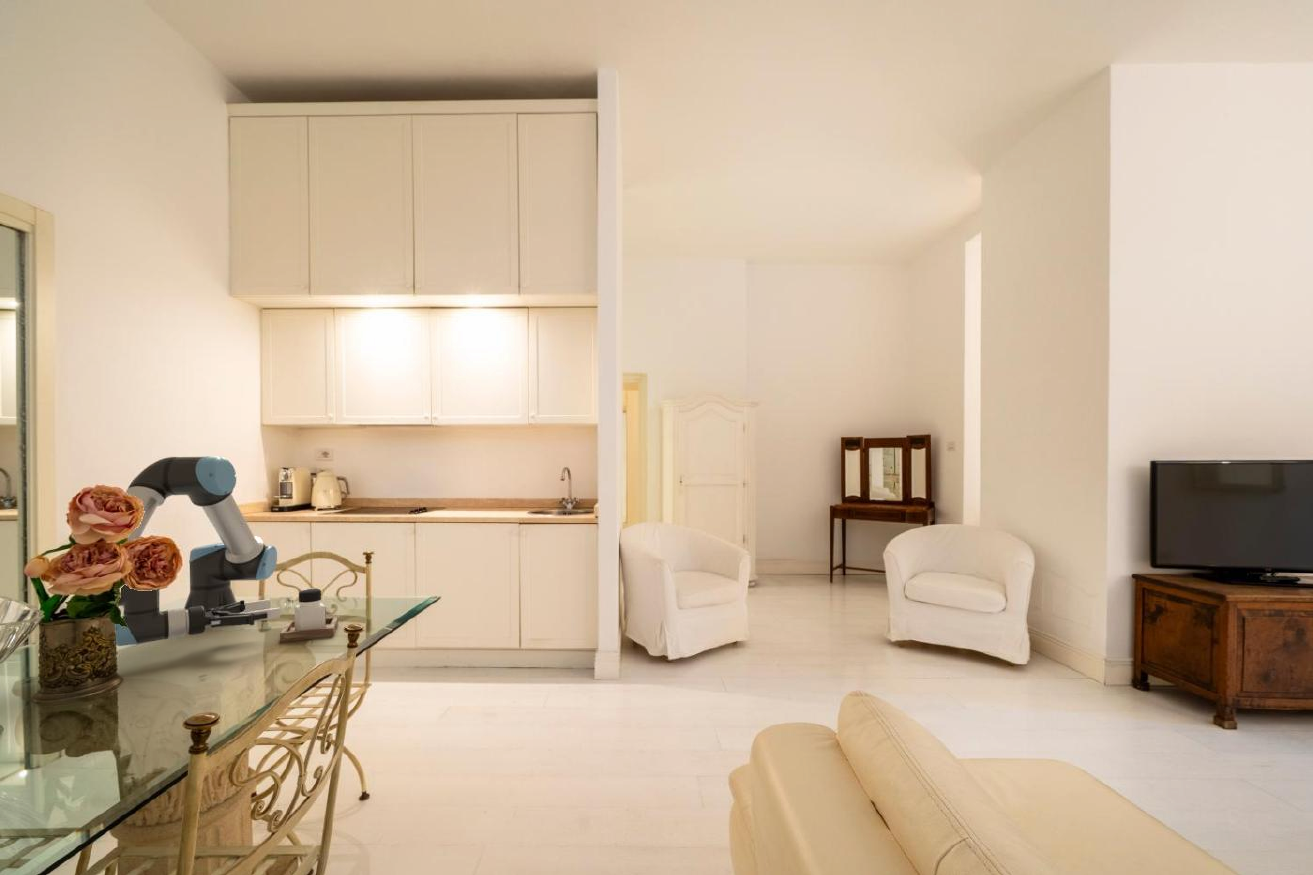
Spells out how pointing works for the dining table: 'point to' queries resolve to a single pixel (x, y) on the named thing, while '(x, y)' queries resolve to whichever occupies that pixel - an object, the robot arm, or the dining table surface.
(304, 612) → the medicine bottle
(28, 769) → the dining table surface
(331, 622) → the wooden tray
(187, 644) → the dining table surface
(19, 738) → the dining table surface
